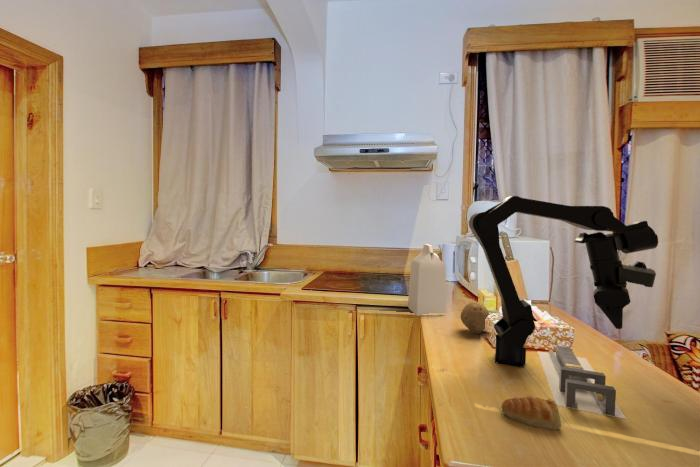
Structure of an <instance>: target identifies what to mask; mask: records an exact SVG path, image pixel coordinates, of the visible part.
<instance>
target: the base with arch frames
mask: <svg viewBox="0 0 700 467" xmlns="http://www.w3.org/2000/svg"><path fill="white" fill-rule="evenodd" d="M536 352H537V354H538V358H539V361H540V364H541V365H542V369H543V372H544V374H545V378H546V380H547V384H548V386H549V388H550V392H551V395H552V397H553V401H555V402H556V404H557V407H562V408H563V407H564V408H568V409H573V410H577V411H582V412H588V413H593V414H596V415H597V414H599V415H603V416H609V417H613V418H620V419H623V420H627V417H626V416H625V415H624V412H622V410H621V408H620V407H619V405H618V404H617V402H616V398H617V390H616V389H615V387H614V386H611V385H607V384H606V375H605V373H604V372H599V371H595V370H594V368H593V367H592V366H591V364H590V363H589V361H588V360H587V358H585V357H580V356H576V354H575V353H574V355H575V357H576V358H577V360H578V362H579V363H580V365H581V366H582V368H583V370H581V369H574V368H568V367H561V366H560V365H559V363H558V360H557V358H556V353H555V352H554V350H553V349H548V352H543V351H536ZM569 375H571V376H577V377H583V378H587V382H582V381H576V380H570V379H569Z"/></svg>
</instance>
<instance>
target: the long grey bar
mask: <svg viewBox="0 0 700 467" xmlns="http://www.w3.org/2000/svg"><path fill="white" fill-rule="evenodd" d="M555 354H556V358H557V360H558V363H559V365H560V366H561V367H568V368H574V369H581V370H583V368H582V366H581V365H580V363H579V362H578V360H577V358H576V357H577V356H576V354H575V353H574V352H573V351H572V349H571V347H569V346H565V345H556V346H555ZM574 354H575V355H574ZM575 356H576V357H575ZM569 379H570V380H576V381H582V382H587V378H583V377H577V376H571V375H569Z"/></svg>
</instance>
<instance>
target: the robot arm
mask: <svg viewBox="0 0 700 467" xmlns="http://www.w3.org/2000/svg"><path fill="white" fill-rule="evenodd" d="M516 213H517V214H523V215H528V216H534V217H539V218H543V219H544V218H545V219H551V220H556V221H561V222H564V223H566V224H569V225H571V226H574V227H576V228H579V229H581V230H585V231H597V232H593V233H587V232H583V231H581V232H580V233H579V235H578V236H577V237H576V238H575V239H574V243H575V244H585V248H586V251H587V255H588V259H589V260H588V261H589V267H590V271H591V273H592V274H591V275H592V277H593V284H594V287H596V288H595V289H594V291H593V296H592V297H593V300H594V303H595V305H596V306H598V308H600V310H601V311H602V312H603V314H604V315H605V316H606V318H608V320H609V321H610V323H611V324H612V325H613V326H614V328H615V329H616V330H622V329H623V313H624V312H623V311H624V310H623V309H625V307H626V306H628V305H630V303H631V298H630V293H629V290H628V288H627V285H628V283H632V284H635V285H640V286H643V287H645V288H646V287H647V288H654V283H655V279H656V275H657V273H656V271H655V270H654V269H652V268H650V267H649V268H647V266H646V263H645V262H644V261H635V262H633V263H632V265H631V264H629V265H626V264H623V263H622V262H623V261H622V259H620V256H619V251H620V252H622V253H623V254H626V255H627V254H632V253H636V252H637V253H638V252H642V251H649V250H654V249H656V248H657V247H658V245H659V237H658V234H656V232H655V230H654V229H653V228H652V227H651V226H650V225H649V223H648V221H647V220H639V221H638V220H637V221H634V222H632V223H627V224H625V223H624V222H622V221H620V220H619V218H616V216H614V212H613V211H612V209H611V208H610V207H609V206H604V205H566V204H562V203H561V204H560V203H554V202H549V201H548V202H547V201H543V200H537V199H531V198H525V197H520V196H518V195H512V196H507V197H506V198H504V200H502V201H500V202H499V203H497V204H496V205H494V206H492V207H491V208H488V209H487V210H485V211H479V212H475V213H474V214H472V215H471V216H470V219H469V221H468V226H469V229H470V230H471V232H472V234H473V236H474V237H475V239H476V241H477V243H479V246H481V248H482V250H483V253H484V257H485V258H486V261H487V264H488V267H489V270H490V272H491V275H492V278H493V281H494V283H495V285H496V288H497V292H498V293H499V294H498V295H499V296H500V301H501V305H500V306H501V314H502V318H500V319H499V320H498V321H496V322H495V323H494V324H493V327H494V330H495V333H496V334H495V349H494V350H495V351H494V363H495V364H499V365H503V366H510V367H514V368H515V367H517V368H524V367H525V366H524V365H526V359H527V357H526V356H527V348H526V345H525V344H526V341H527V340H528V338H529V336H531V335H532V334H533V333H534V331H535V330H536V323H535V322H537V321H538V320H537V319H536V318H535V316H534V313H533V308H532V304H529V303H528V302H527V301H526V300H525V299H520V297H519V293H518V291H517V289H516V286H515V283H514V280H513V279H512V278H513V277H512V274H511V273H510V270H509V267H508V265H507V262H506V258H505V256H504V254H503V251H502V247H501V245H500V231H499V225H500V224H502V223H503V222H504V221H506V220H507V219H509V218H510V217H511V216H512V215H514V214H516ZM604 232H611V233H607V234H605V233H604Z"/></svg>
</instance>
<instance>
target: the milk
mask: <svg viewBox="0 0 700 467" xmlns="http://www.w3.org/2000/svg"><path fill="white" fill-rule="evenodd" d="M409 271H410V272H409V283H408V284H409V286H408V299H407V300H408V301H407V308H408V309H409V310H410V311H411V312H413V314H414V315H416V317H422V316H421V315H422V314H429V313H447V312H448V311H447V272H446V271H447V268H446V265H445V263H444V262H443V261H442V260H441V259H440V256H439V255H438V254H437V253H435V252H434V248H433V245H431V244H428V243H423V246H422V250H421V252H420V253H419V254H418V255H417V256H415V257H414V258H413V259H412V260H411V262H410V270H409Z"/></svg>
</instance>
